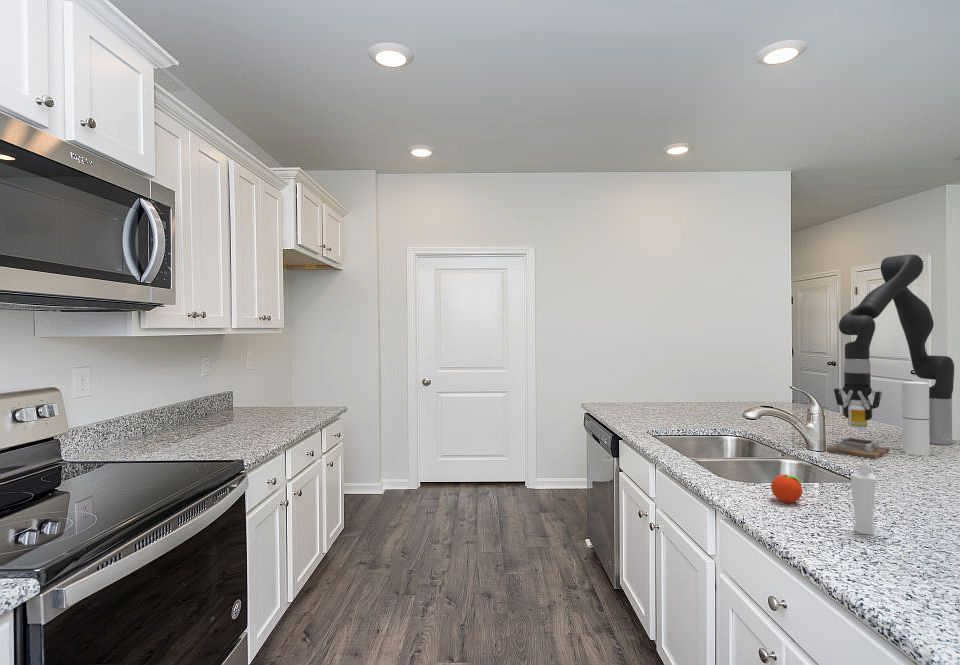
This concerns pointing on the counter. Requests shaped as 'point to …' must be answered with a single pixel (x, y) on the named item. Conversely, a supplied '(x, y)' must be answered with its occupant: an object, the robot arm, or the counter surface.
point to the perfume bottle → (863, 499)
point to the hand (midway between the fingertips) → (857, 418)
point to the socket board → (858, 448)
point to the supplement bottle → (857, 414)
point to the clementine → (786, 488)
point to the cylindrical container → (915, 418)
